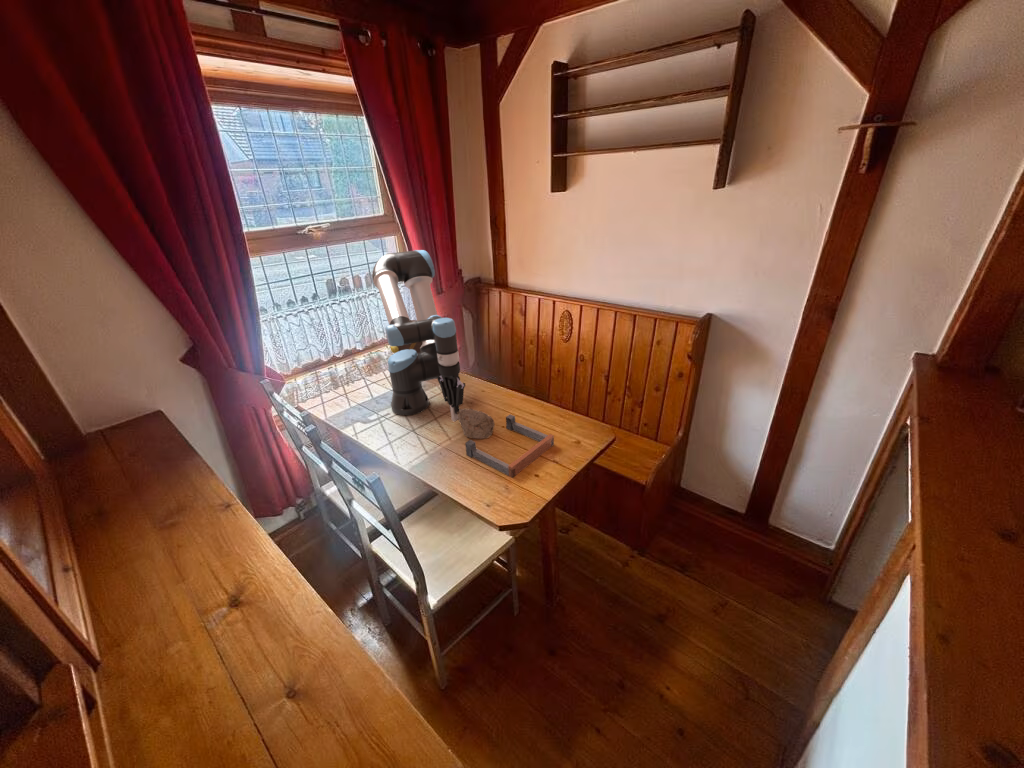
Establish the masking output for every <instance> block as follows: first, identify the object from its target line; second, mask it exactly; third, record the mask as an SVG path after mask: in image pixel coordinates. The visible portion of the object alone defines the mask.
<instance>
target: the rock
mask: <svg viewBox="0 0 1024 768" xmlns="http://www.w3.org/2000/svg"><path fill="white" fill-rule="evenodd" d="M457 416H458V422H459V423H460V426H461V428H462V429H461V430H462V431H463V435H464V436H466V437H467V438H470V439H476V440H477V439H479V440H482V439H488V438H489V437H490V436H492V435H493V433H494V432H493V431H494V427H495V421H494V418H493V416H492V417H491V416H490V415H488V414H487V413H485V412H484V411H482V410H476V409H473V408H459V412H457Z"/></svg>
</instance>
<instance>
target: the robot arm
mask: <svg viewBox="0 0 1024 768" xmlns="http://www.w3.org/2000/svg"><path fill="white" fill-rule="evenodd" d="M435 272H436V270H435V266H434V263H433V260H432V257H431V256H430V253H429V252H428V251H426V250H425V249H414V250H408V251H401V252H400V251H399V252H389V253H386V254H384V255H382V256H381V257H379V259H378V260H377V261H376V262H375V264H374V266H373V269H372V274H371V277H372V282H373V285H374V287H375V288H377V290H378V293H379V295H380V296H379V297H380V299H381V303H382V305H383V309H384V313H385V316H386V318H387V319H386V320H387V322H388V325H386V326H385V328H384V329H385V335H386V339H387V343H388V345H389V347H391V346H402V345H406V344H411V343H417V342H422V343H423V344H422V346H421V347H420V351H421V352H419V353H417V352H416V351H415V350H413V349H410V350H409V349H406V350H401V351H398V352H396V353H393V354H391V355H390V356H389V357H388V360H387V367H388V369H387V371H388V372H389V376H390V384H391V388H392V397H391V402H390V406H391V407H390V408H391V411H392V412H393V413H394V414H396V415H399V416H413V415H416V414H420V413H422V412H423V411H425V410H426V409H427V408H428V407H429V405H430V402H429V397H428V395H427V394H426V391H425V390H424V388H423V385H422V384H423V383H422V382H426V381H432V380H435V379H436V380H437V381H438V383H439V387H440V390H441V392H442V397H443V400H444V401H445V403H447V404H448V405H449V411H450V416H451V421H452V422H456V421H459V419H458V416H457V412H459V410H460V406H462V405H463V404H464V393H465V387H466V383H465V382H462V381H461V377H460V372H461V366H460V355H459V354H460V353H459V347H458V339H457V327H456V323H455V320H454V319H453V318H451V317H443V316H441V315H439V314H438V312H437V309H436V304H435V300H434V296H433V292H432V291H433V290H432V287H431V284H432V283H433V278H434V277H435V275H436V273H435ZM402 282H403V283H404V287H406V288H407V289H408V290H409V292H410V297H411V300H412V305H413V308H414V313H415V317H416V320H417V321H414V322H410V320H411V319H410V316H409V313H408V310H407V307H406V305H405V302H404V299H403V296H402V293H401V291H400V287H399V283H402Z"/></svg>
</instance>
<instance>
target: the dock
mask: <svg viewBox="0 0 1024 768" xmlns="http://www.w3.org/2000/svg"><path fill="white" fill-rule="evenodd" d="M505 423H506V425H505V426H506V429H507V430H509V431H514V432H516V433H519V434H521V435H523V436H525V437H526V438H529V439H532V440H534V441H537V442H538V443H536V444H534V446H532V447H531V448H530V449H528V450H527V451H526V452H524V453H523V454H522V455H520V456H519V457H518V458H516V459H515V460H514V461H512V462H511V463H510V464H509V463H506V462H505V461H502V460H500V459H498V458H496V457H494V456H493V455H491V454H489V453H487V452H484V451H482V450H481V449H478V448H477V443H476V441H474V440H472V439H469V440H467V441H466V442H465V451H466V456H468V457H469V458H474V459H475V460H477V461H479V462H481V463H483V464H485V465H487V466H489V467H491V468H493V469H494V470H496V471H499V472H500V473H502V474H504V475H506V476H508V477H510V478H512V479H513V478H514V477H516V476H517V475H518V474H520V473H522V471H524V470H525V469H526V468H527V467H528V466H530V464H532V463H533V462H534V461H536V460H537V459H538V458H539V457H540V456H542V455H543V454H545V453H546V452H547V451H548V450H549V449H551V448H552V447H553V446H554V445H555V444H554V442H555V440H554V439H555V438H554V437H555V435H554V434H551V433H549V434H546V433H543V432H541V431H539V430H536V429H534V428H532V427H529V426H527V425H524V424H522V423H519V422H516V416H515V415H513V414H508V415H507V416H505Z"/></svg>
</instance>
